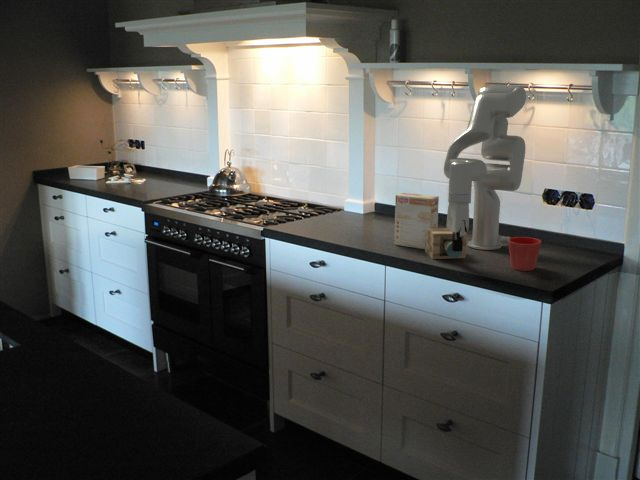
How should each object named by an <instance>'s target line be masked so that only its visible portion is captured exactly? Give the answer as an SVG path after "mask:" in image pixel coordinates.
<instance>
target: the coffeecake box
mask: <svg viewBox="0 0 640 480" xmlns="http://www.w3.org/2000/svg"><path fill="white" fill-rule="evenodd" d="M439 202H440V199H439V196H438V195H437V196H436V195H427V194H418V193H407V192H402V193H398V194H396V195H395V203H394V204H395V205H394V206H395V207H394V209H395V210H394V211H395V212H394V235H393V236H394V238H393V241H394V242H393V245H394V246H401V247H407V248H408V247H409V248H415V249H420V250H425V241H426V228H439V225H438V224H439V223H438V222H439Z"/></svg>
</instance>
